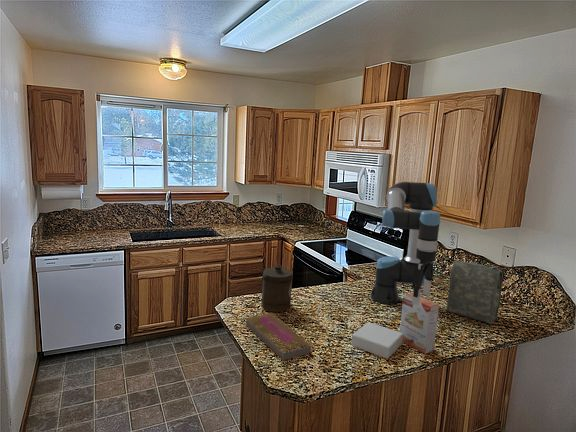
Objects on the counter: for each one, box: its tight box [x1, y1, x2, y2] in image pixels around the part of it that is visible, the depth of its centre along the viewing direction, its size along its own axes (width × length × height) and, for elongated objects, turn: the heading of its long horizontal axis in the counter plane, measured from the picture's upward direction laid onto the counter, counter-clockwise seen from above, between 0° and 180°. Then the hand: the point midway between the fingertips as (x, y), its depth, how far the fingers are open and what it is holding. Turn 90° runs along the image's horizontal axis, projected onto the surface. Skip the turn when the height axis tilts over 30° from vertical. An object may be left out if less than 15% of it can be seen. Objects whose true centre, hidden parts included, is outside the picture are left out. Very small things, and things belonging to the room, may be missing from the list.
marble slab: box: [350, 322, 404, 359], centre depth 166 cm, size 16×16×5 cm
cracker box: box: [399, 292, 440, 355], centre depth 164 cm, size 14×6×21 cm, turn 33°
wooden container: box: [261, 264, 293, 313], centre depth 198 cm, size 15×15×22 cm
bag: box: [445, 259, 504, 325], centre depth 199 cm, size 22×16×27 cm
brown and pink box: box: [243, 311, 315, 361], centre depth 167 cm, size 35×14×6 cm, turn 31°
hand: (420, 299), depth 162 cm, fingers open, 13 cm apart
